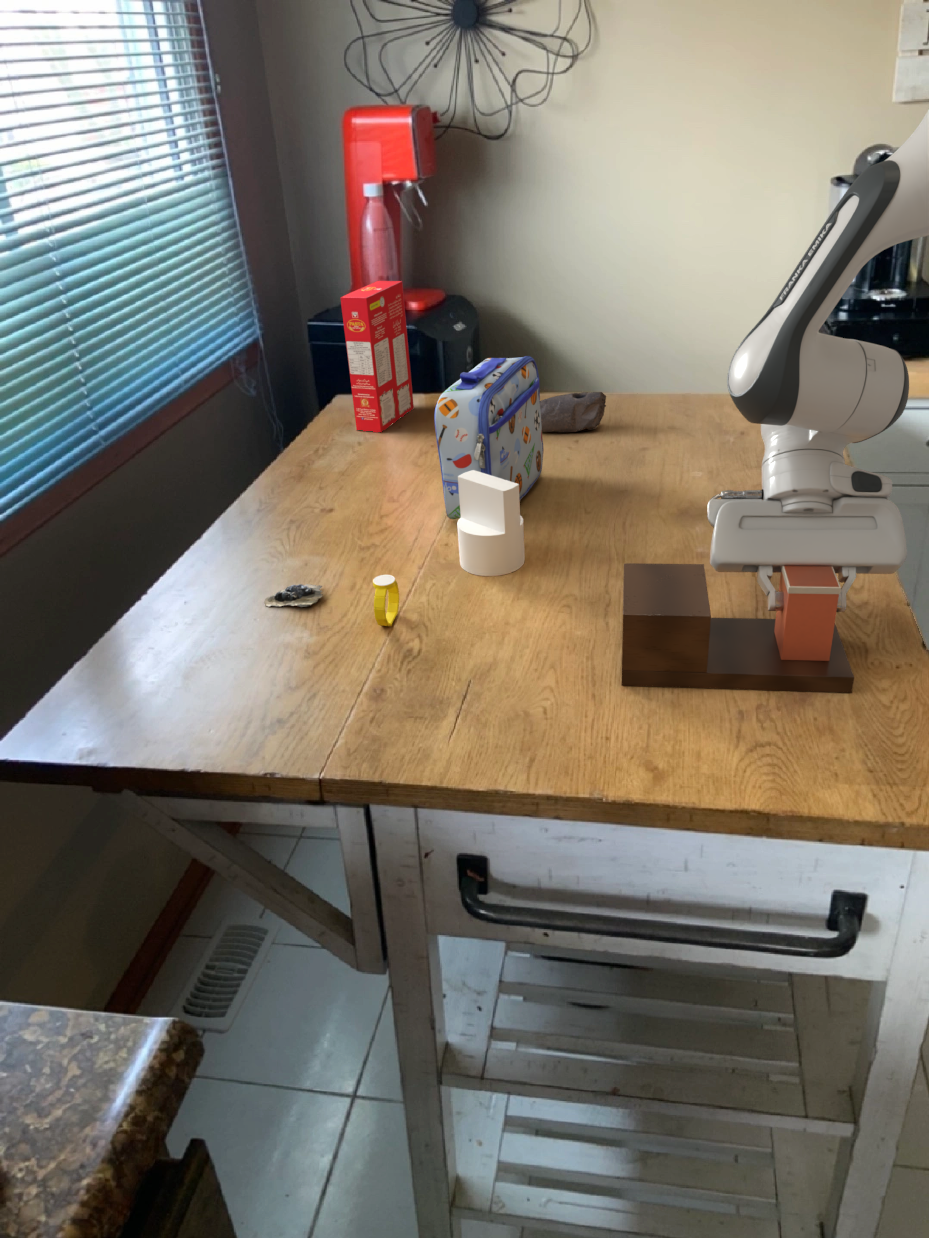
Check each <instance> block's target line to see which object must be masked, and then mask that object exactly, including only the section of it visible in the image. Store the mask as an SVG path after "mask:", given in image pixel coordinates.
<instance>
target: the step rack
mask: <svg viewBox="0 0 929 1238" xmlns="http://www.w3.org/2000/svg"><path fill="white" fill-rule="evenodd" d="M622 581H623V583H622V584H623V586H622V627H621V628H622V629H621V630H622V632H621V633H622V634H621V635H622V636H621V681H620V682H621V683H620V684H621V686H622V687H653V688H654V687H655V688H680V689H681V688H684V689H685V688H686V689H690V688H691V689H714V690H715V689H716V690H718V689H719V690H747V691H749V690H750V691H752V690H753V691H779V692H780V691H781V692H782V691H783V692H813V693H814V692H815V693H845V694H846V693H847V694H850V693H851V694H852V693H853V688H854V687H853V686H854V681H855V675H854V672H853V669H852V667H851V664H850V661H849V659H848V656H847V654H846V651H845V647H844V645H843V642H842V639H841V636H840V634H839V633H840V632H839V631H838V627H837V625H836V624H835V625H834V632H833V639H832V645H831V652H830V659H829V661H810V660H781V657H780V653H779V649H778V645H777V641H776V637H775V633H774V629H775V620H776V618H755V617H754V618H750V617H748V618H747V617H712V612H711V607H710V606H711V605H710V599H709V592H708V591H709V590H708V585H707V584H708V583H707V577H706V571H705V564H704V563H635V562H634V563H629V562H626V563H625V562H624V563H623V579H622Z"/></svg>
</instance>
